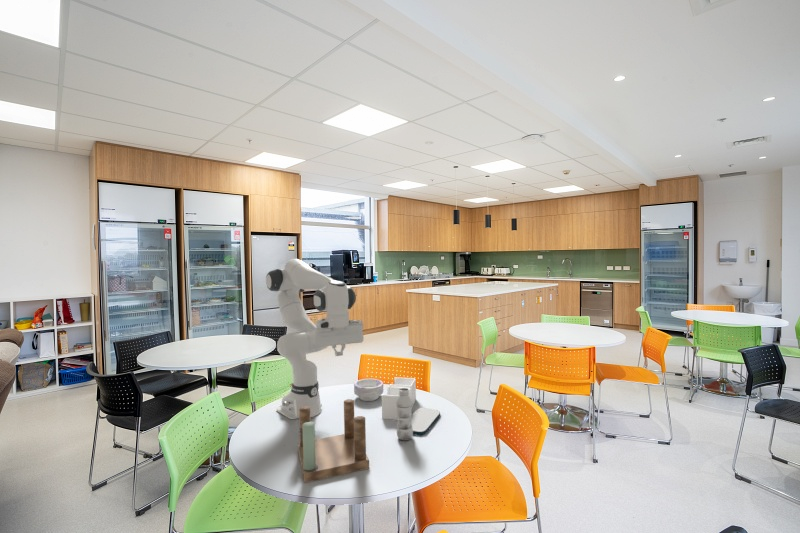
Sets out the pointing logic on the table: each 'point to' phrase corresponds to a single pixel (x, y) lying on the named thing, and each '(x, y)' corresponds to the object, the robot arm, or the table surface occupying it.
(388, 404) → the storage container
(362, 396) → the light grey bowl
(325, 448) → the stool
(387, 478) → the table surface
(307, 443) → the green piece
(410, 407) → the plastic bottle
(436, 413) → the external hard drive
